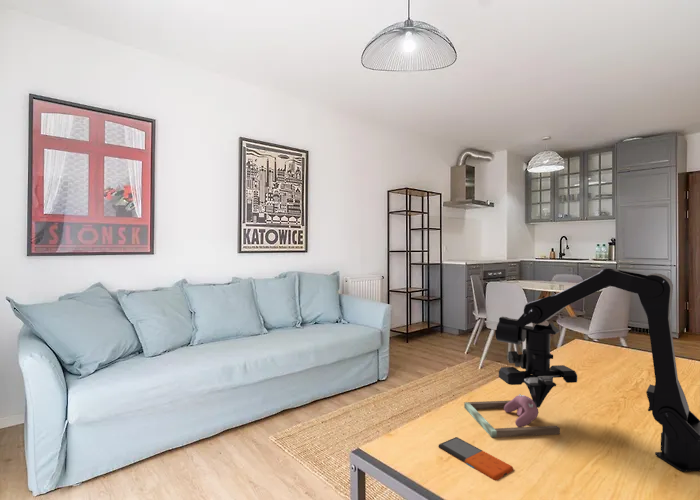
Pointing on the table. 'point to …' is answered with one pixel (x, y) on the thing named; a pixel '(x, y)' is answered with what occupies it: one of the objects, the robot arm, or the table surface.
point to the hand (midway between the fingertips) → (536, 407)
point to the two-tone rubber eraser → (476, 458)
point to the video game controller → (522, 409)
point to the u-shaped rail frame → (505, 432)
